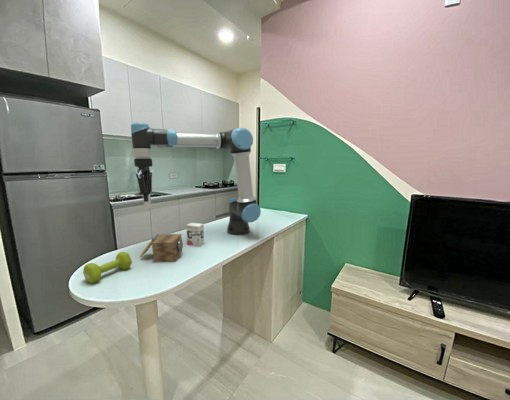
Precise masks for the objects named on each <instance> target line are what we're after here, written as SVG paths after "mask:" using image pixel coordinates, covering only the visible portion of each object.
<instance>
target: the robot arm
mask: <svg viewBox="0 0 510 400" xmlns="http://www.w3.org/2000/svg"><path fill="white" fill-rule="evenodd" d="M130 133H131V143H132V153H133V157H134V159H133V161H134V163H133V164H134V167H136V168H138V171H137V172H138V173H136V174H135V176H136V179H137V183H138V187H139V193H140V195H141V196H142V198H143V208H144V209H151V208H152V201H151V194H153V190H152V189H153V183H152V182H153V181H152V180H153V179H152V178H153V172H151V170H150V167H153V159H152V157H153V154H152V147H151V146H156V147H158V148H216V149H217V150H228V151H229V153H230V155H231V156H232V157H233V162H234V168H235V177H236V184H237V193H238V197H232V198H229V202H228V206H229V207H228V208H229V211H228V213H229V221H228V224H227V228H226V232H227V234H230V235H235V236H241V235H242V236H243V235H247V234H249V233H250V230H251V228H250V225H249V223H251V224H252V223H254V222H256V221H257V220H258V219H259V218H260V216H261V207H260V206H259V204H258V202H257V198H256V197H255V196H254V190H253V183H252V172H251V165H250V157H249V156H250V154H251V152H252V150H251V147H252V145H253V143H254V138H253V137H254V136H253V134H252V133H251V131H250V130H249V129H247V128H245V127H237V128H234V129H231V130H227V131H220V132H218V131H217V132H215V133H199V132H198V133H192V132H191V133H190V132H177V131H176V130H175V129H170V128H168V129H167V128H164V129H162V128H151V127H150V125H149V124H148V123H146V122H145V123H144V122H133V123H131V124H130Z"/></svg>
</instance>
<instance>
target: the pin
mask: <svg viewBox="0 0 510 400" xmlns="http://www.w3.org/2000/svg"><path fill="white" fill-rule="evenodd" d="M177 251H178V252H181V251H182V252H183V239H182V240H178V242H177Z"/></svg>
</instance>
